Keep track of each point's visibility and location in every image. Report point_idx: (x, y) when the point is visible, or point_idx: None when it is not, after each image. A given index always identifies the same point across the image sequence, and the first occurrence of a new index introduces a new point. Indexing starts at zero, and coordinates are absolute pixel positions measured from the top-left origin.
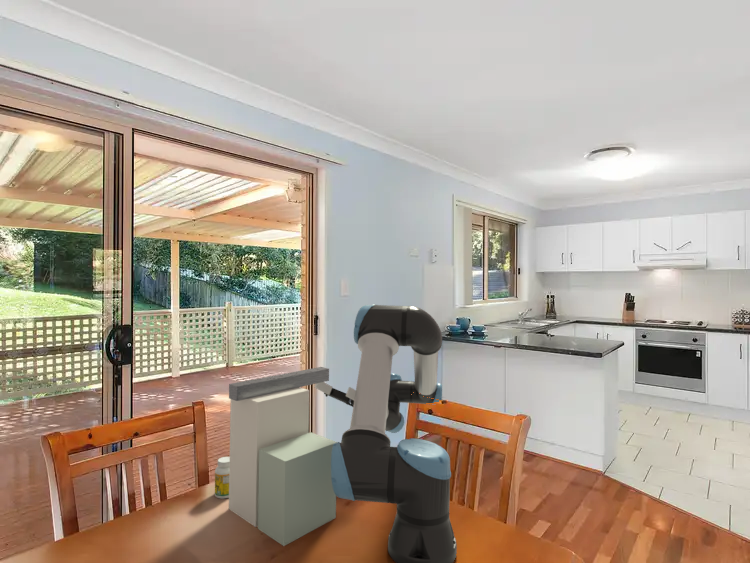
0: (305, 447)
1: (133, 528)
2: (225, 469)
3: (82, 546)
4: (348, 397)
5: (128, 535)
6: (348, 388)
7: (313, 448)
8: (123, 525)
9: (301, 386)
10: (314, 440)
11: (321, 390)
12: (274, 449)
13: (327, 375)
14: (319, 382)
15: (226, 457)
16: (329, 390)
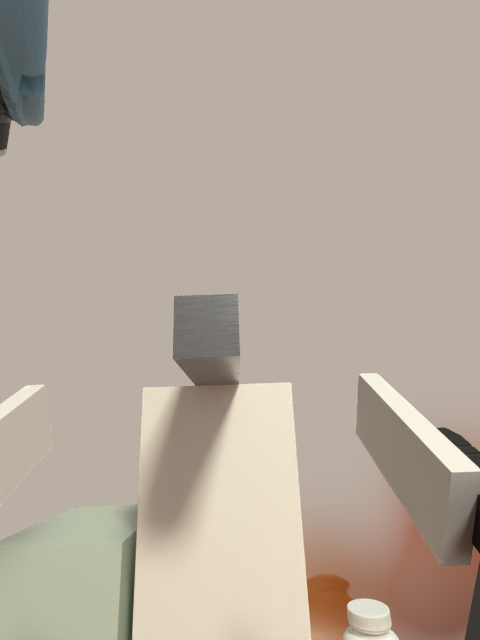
0: (71, 522)
1: (328, 613)
2: (350, 627)
3: (318, 586)
4: (35, 462)
5: (311, 608)
6: (45, 394)
7: (45, 525)
8: (346, 609)
9: (195, 383)
10: (70, 534)
11: (380, 468)
12: (135, 508)
13: (175, 332)
14: (183, 369)
15: (381, 611)
16: (433, 504)
